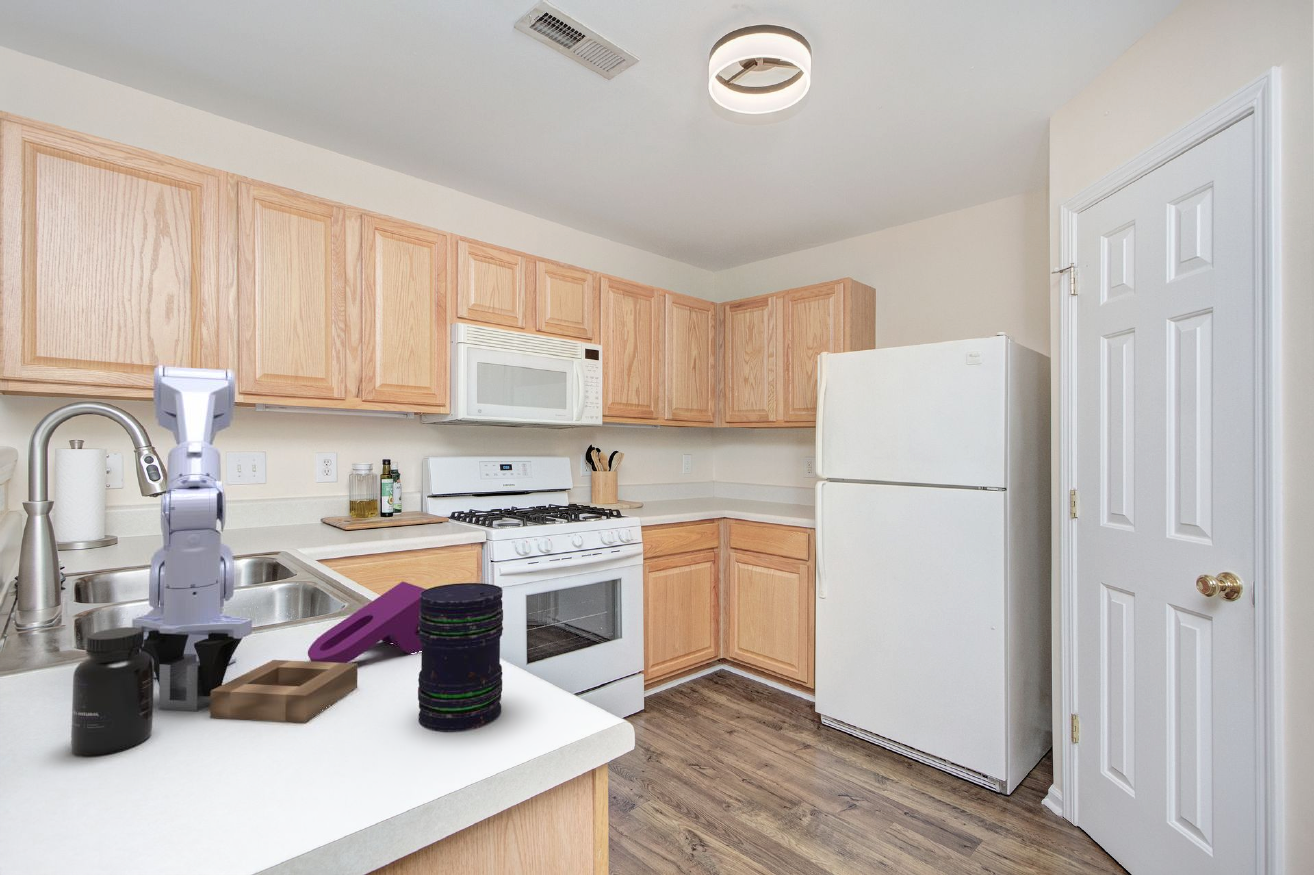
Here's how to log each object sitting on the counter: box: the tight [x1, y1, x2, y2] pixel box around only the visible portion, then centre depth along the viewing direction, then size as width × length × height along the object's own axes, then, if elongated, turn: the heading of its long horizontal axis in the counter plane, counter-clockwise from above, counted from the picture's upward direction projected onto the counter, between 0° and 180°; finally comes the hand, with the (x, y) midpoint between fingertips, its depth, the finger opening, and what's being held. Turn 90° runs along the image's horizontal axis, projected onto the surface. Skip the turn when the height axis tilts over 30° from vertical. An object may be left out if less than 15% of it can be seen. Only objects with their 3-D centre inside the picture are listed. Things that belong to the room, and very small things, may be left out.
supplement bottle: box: [70, 626, 155, 757], centre depth 71 cm, size 7×7×12 cm
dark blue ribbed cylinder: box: [417, 582, 504, 733], centre depth 79 cm, size 10×10×15 cm
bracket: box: [158, 654, 211, 712], centre depth 81 cm, size 5×4×6 cm
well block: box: [209, 659, 359, 724], centre depth 82 cm, size 12×11×3 cm
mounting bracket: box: [307, 581, 427, 663], centre depth 101 cm, size 9×8×18 cm
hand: (191, 692), depth 81 cm, fingers closed on bracket, 5 cm apart
